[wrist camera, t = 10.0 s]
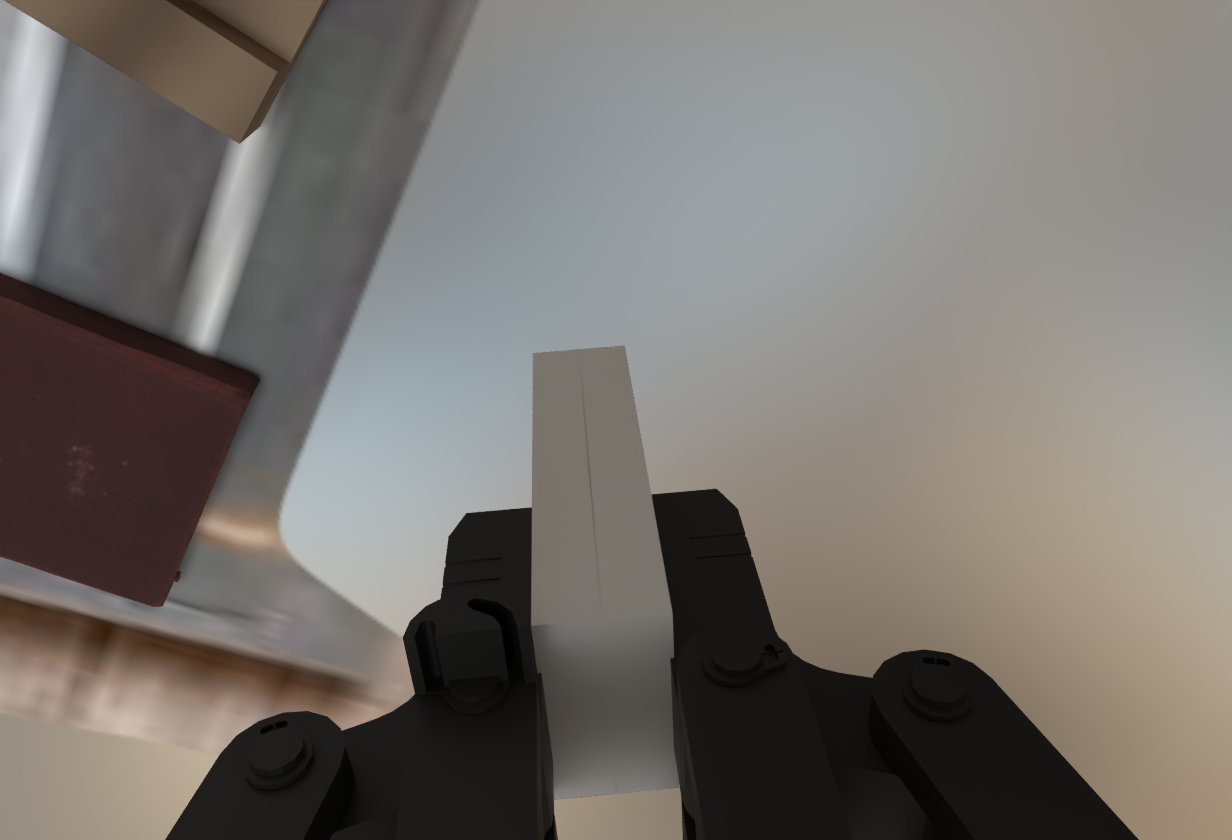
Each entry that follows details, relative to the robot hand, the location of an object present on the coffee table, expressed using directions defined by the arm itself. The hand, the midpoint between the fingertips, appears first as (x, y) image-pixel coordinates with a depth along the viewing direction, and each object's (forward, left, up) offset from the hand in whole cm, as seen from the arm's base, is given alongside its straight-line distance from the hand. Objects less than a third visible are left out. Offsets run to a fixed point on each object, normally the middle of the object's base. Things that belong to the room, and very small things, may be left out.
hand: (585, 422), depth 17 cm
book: (+25, +11, -26) cm, 38 cm away
